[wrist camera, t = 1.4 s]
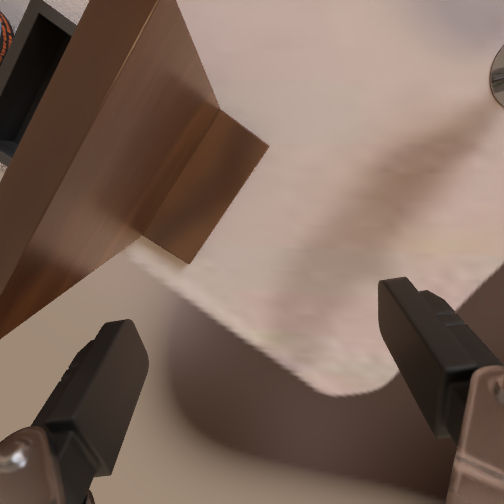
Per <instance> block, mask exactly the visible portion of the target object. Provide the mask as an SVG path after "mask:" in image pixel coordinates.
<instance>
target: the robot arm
mask: <svg viewBox="0 0 504 504" xmlns="http://www.w3.org/2000/svg"><path fill="white" fill-rule="evenodd" d="M378 321H379V327H380V331H381V335H382V337H383V340H384V342H385V344H386V345H387V347H388V349H389V351H390V353H391V355H392V357H393V359H394V361H395V362H396V364H397V366H398V368H399V370H400V372H401V374H402V376H403V378H404V380H405V381H406V383H407V385H408V387H409V389H410V391H411V393H412V395H413V397H414V398H415V400H416V402H417V404H418V406H419V408H420V410H421V412H422V414H423V416H424V417H425V419H426V421H427V423H428V425H429V427H430V429H431V431H432V433H433V435H434V436H435V438H436V439H439V438H447V437H452V439H453V441H454V443H455V444H456V446H457V452H456V456H455V460H454V466H453V470H452V475H451V480H450V485H449V490H448V495H447V500H446V504H504V365H503V364H502V363H501V362H500V361H499V359H497V357H496V356H495V355H494V354H493V353H492V352H491V351H490V350H489V349H488V347H487V346H486V345H485V344H484V343H483V342H482V341H481V340H480V339H479V338H478V337H477V335H476V334H475V333H474V332H473V331H472V330H471V329H470V328H469V327H468V325H467V324H466V325H465V324H464V321H463V320H462V319H461V318H460V317H459V316H458V314H455V311H454V310H453V309H452V308H451V307H450V306H449V305H448V303H447V302H446V301H445V300H444V299H442V298H440V297H439V296H437V295H435V294H433V293H431V292H430V291H428V290H425V291H419V292H418V290H417V289H416V288H415V287H414V286H413V284H412V283H411V282H410V281H409V279H408V278H406V277H400V278H393V279H387V280H381V281H379V284H378ZM148 366H149V360H148V355H147V352H146V350H145V347H144V345H143V343H142V340H141V338H140V336H139V334H138V332H137V330H136V327H135V325H134V323H133V321H132V320H130V319H126V320H120V321H114V322H108V323H105V324H104V325H103V326H102V328H101V330H100V331H99V333H98V334H97V336H96V338H95V340H91V341H90V342H89V343H88V344H87V345H86V346H85V347H84V348H83V349H81V350H80V351H79V352H78V353H77V355H76V356H75V358H74V359H73V361H72V362H71V364H70V366H69V369H68V370H66V372H65V373H64V375H63V377H62V378H61V381H60V382H59V383H58V384H57V386H56V387H55V389H54V390H53V392H52V394H51V395H50V397H49V398H48V400H47V401H46V403H45V405H44V406H43V408H42V409H41V411H40V412H39V414H38V415H37V417H36V419H35V420H34V421H33V423H32V425H31V426H30V427H26V428H23V429H20V430H18V431H16V432H14V433H13V434H11V435H10V436H8V437H6V438H5V439H4V440H2V441H1V442H0V504H95V502H94V498H93V495H92V493H91V491H90V490H89V488H90V485H91V482H92V480H93V477H101V476H109V475H111V474H112V471H113V468H114V465H115V463H116V460H117V457H118V454H119V451H120V448H121V446H122V443H123V440H124V437H125V434H126V431H127V429H128V426H129V423H130V420H131V417H132V415H133V412H134V409H135V406H136V404H137V401H138V398H139V395H140V392H141V389H142V387H143V384H144V381H145V378H146V375H147V372H148Z"/></svg>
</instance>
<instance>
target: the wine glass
mask: <svg viewBox="0 0 504 504" xmlns="http://www.w3.org/2000/svg"><path fill="white" fill-rule="evenodd" d="M490 83H491V89H492V92H493V95H494V97H495V98H496V100H497V101H498V102H499V103H500V104H501V105H502V106H504V46H503V47H502V48H501V50H500V51H499V53H498V54H497V56H496V58H495V60H494V63H493V66H492V69H491V76H490Z"/></svg>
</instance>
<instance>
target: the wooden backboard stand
mask: <svg viewBox="0 0 504 504" xmlns="http://www.w3.org/2000/svg"><path fill="white" fill-rule="evenodd" d="M268 148H269V145H268V144H267V143H265V142H264V141H263V140H261V139H260V138H259V137H257V136H256V135H254V134H253V133H252V132H250V131H249V130H248V129H246V128H245V127H244V126H242V125H241V124H240V123H238V122H237V121H236V120H234V119H233V118H232V117H230V116H229V115H228V114H226V113H225V112H224V111H222V110H221V109H220V107H219V104H218V102H217V99H216V97H215V94H214V92H213V90H212V87H211V85H210V82H209V80H208V77H207V75H206V72H205V70H204V68H203V65H202V63H201V60H200V58H199V55H198V53H197V50H196V48H195V46H194V43H193V41H192V38H191V36H190V33H189V31H188V29H187V26H186V24H185V21H184V19H183V16H182V14H181V11H180V9H179V7H178V4H177V2H176V0H90V1H89V3H88V5H87V7H86V9H85V11H84V13H83V15H82V17H81V19H80V21H79V23H78V25H76V24H74V23H73V22H71V21H70V20H69V19H67V18H66V17H65V16H63V15H62V14H61V13H59V12H58V11H56V10H55V9H54V8H52V7H51V6H50V5H48V4H47V3H45V2H44V1H43V0H30V2H29V4H28V7H27V9H26V11H25V13H24V16H23V18H22V20H21V22H20V25H19V27H18V29H17V31H16V33H15V36H14V38H13V40H12V42H11V44H10V47H9V49H8V51H7V53H6V55H5V58H4V60H3V62H2V64H1V66H0V162H1V163H2V164H4V165H6V166H7V167H8V168H7V170H6V172H5V174H4V176H3V178H2V180H1V182H0V339H1V338H2V337H4V336H5V335H6V334H8V333H9V332H11V331H12V330H13V329H15V328H16V327H17V326H19V325H20V324H21V323H23V322H24V321H26V320H27V319H28V318H30V317H31V316H32V315H34V314H35V313H36V312H38V311H39V310H41V309H42V308H43V307H45V306H46V305H47V304H49V303H50V302H52V301H53V300H54V299H56V298H57V297H58V296H60V295H61V294H62V293H64V292H65V291H67V290H68V289H69V288H71V287H72V286H73V285H74V284H76V283H77V282H79V281H80V280H82V279H83V278H84V277H86V276H87V275H88V274H90V273H91V272H93V271H94V270H95V269H97V268H98V267H99V266H101V265H102V264H104V263H105V262H106V261H108V260H109V259H110V258H112V257H113V256H114V255H116V254H117V253H119V252H120V251H121V250H123V249H124V248H125V247H127V246H128V245H129V244H131V243H132V242H134V241H135V240H136V239H138V238H139V237H140V236H142V235H143V236H145V237H146V238H148V239H149V240H151V241H153V242H154V243H156V244H157V245H159V246H161V247H162V248H164V249H165V250H167V251H168V252H170V253H172V254H173V255H175V256H176V257H178V258H180V259H181V260H183V261H184V262H186V263H188V264H190V263H191V262H192V260H193V259H194V257H195V256H196V254H197V253H198V251H199V250H200V248H201V247H202V245H203V244H204V242H205V241H206V240H207V238H208V237H209V235H210V234H211V232H212V231H213V229H214V228H215V226H216V225H217V223H218V222H219V220H220V219H221V217H222V216H223V214H224V213H225V211H226V210H227V208H228V207H229V206H230V204H231V203H232V201H233V200H234V198H235V197H236V195H237V194H238V192H239V191H240V189H241V188H242V186H243V185H244V183H245V182H246V180H247V179H248V177H249V176H250V175H251V173H252V172H253V170H254V169H255V167H256V166H257V164H258V163H259V161H260V160H261V158H262V157H263V155H264V154H265V152H266V151H267V149H268Z"/></svg>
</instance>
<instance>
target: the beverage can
mask: <svg viewBox="0 0 504 504" xmlns="http://www.w3.org/2000/svg"><path fill="white" fill-rule="evenodd" d="M13 38H14V32H13V30H12V27H11V25H10V23H9V21H8V20H7V18H6V17H5V16H4V14H2V13H1V12H0V66H1V64H2V62H3V60H4V58H5V55H6V53H7V51H8V49H9V47H10V44H11V42H12V40H13Z"/></svg>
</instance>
